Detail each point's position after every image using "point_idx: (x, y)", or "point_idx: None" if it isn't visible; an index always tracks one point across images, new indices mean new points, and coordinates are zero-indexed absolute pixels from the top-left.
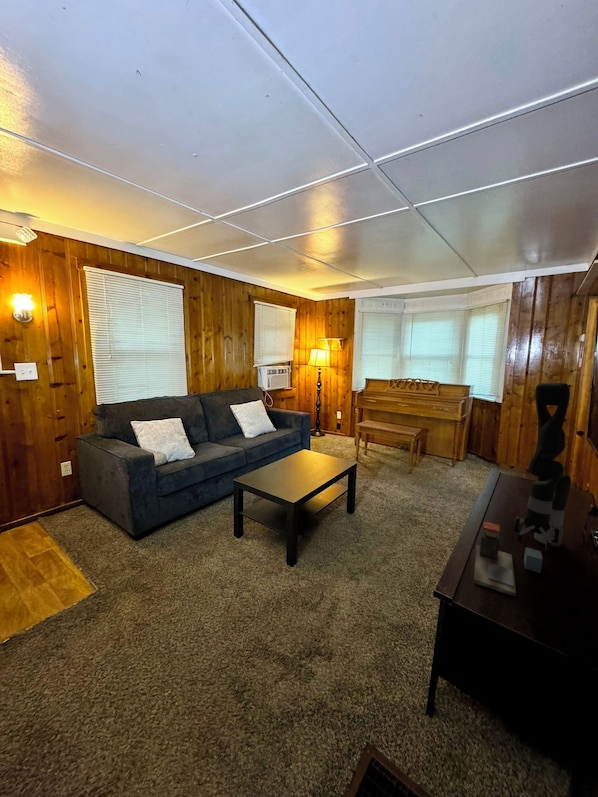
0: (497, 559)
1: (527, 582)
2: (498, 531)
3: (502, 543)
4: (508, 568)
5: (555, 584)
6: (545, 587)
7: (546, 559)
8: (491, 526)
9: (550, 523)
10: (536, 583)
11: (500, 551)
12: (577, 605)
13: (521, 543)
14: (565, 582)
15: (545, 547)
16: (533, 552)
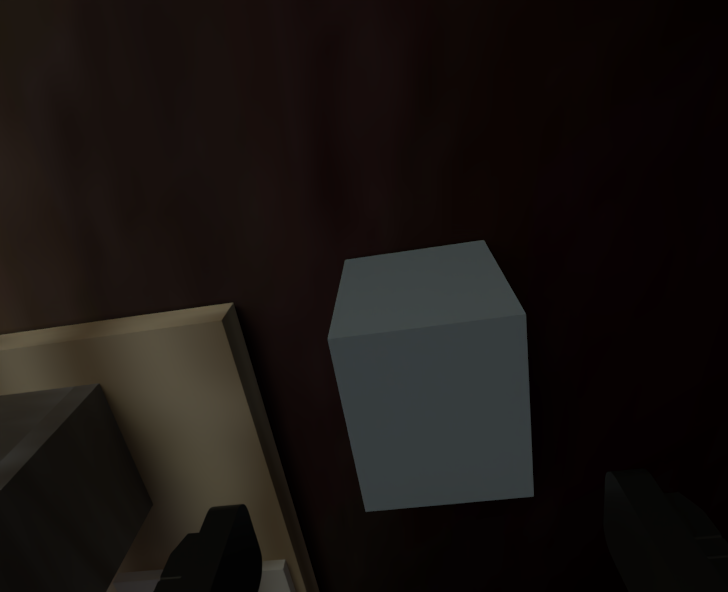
0: (148, 484)
1: (401, 542)
2: None
3: (62, 7)
4: None
5: (596, 453)
6: (517, 526)
7: (581, 30)
8: None
9: None
10: (459, 519)
11: (118, 335)
12: None
13: (259, 577)
14: (689, 377)
15: (618, 513)
16: (431, 407)
